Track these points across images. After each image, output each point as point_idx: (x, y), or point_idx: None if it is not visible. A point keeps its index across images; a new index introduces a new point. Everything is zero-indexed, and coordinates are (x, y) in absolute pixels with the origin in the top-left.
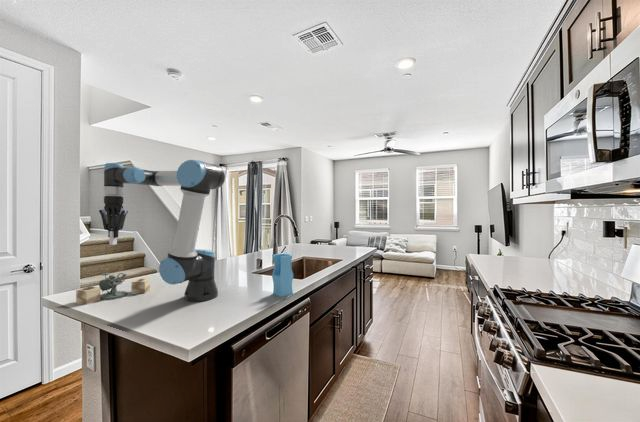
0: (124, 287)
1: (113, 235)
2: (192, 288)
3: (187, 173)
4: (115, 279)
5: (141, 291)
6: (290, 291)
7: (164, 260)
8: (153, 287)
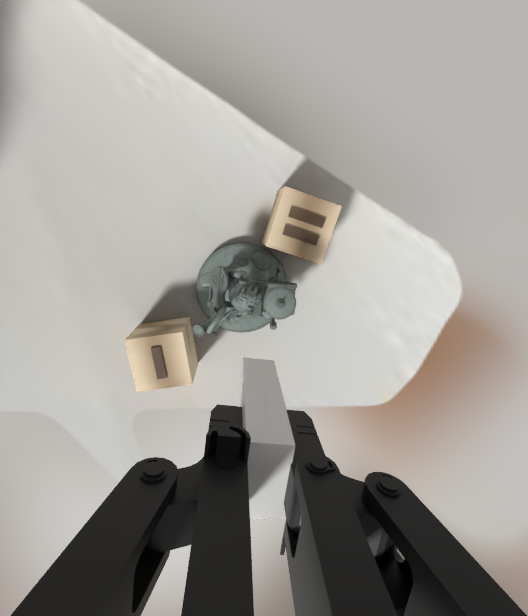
0: None
1: (242, 420)
2: None
3: None
4: (231, 301)
5: (150, 324)
6: None
7: None
8: (154, 400)
